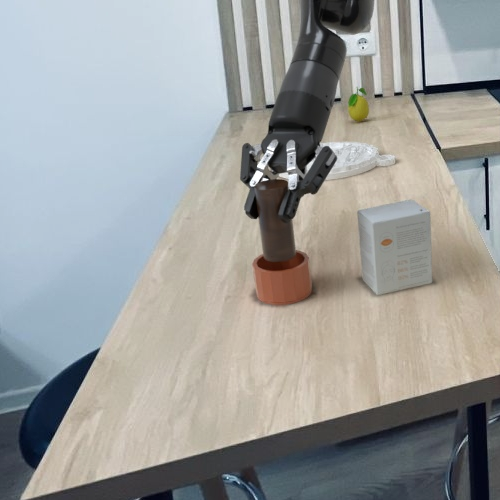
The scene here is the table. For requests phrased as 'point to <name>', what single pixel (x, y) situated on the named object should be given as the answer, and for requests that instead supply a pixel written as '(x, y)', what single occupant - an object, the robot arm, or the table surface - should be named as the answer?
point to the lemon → (358, 106)
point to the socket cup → (282, 279)
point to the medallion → (352, 159)
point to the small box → (395, 246)
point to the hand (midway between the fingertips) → (267, 218)
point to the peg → (274, 221)
